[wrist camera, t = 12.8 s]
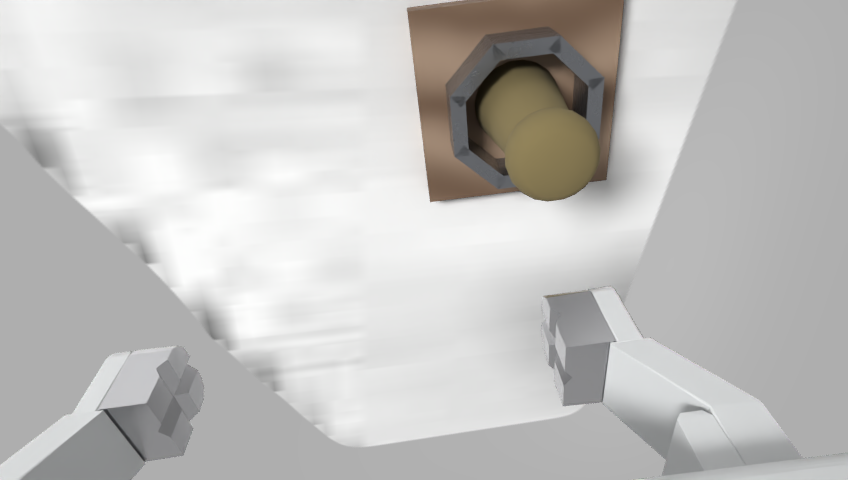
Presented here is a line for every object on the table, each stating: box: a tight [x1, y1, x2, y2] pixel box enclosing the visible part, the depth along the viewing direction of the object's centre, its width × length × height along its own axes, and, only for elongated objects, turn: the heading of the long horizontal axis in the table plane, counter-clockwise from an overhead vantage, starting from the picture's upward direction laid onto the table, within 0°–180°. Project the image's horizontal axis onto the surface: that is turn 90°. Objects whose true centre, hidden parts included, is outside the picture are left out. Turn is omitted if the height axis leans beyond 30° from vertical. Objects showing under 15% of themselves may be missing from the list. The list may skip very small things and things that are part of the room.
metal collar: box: [445, 26, 605, 189], centre depth 35 cm, size 10×10×3 cm
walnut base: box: [407, 0, 624, 202], centre depth 36 cm, size 14×14×2 cm
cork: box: [475, 60, 601, 201], centre depth 31 cm, size 6×6×11 cm
